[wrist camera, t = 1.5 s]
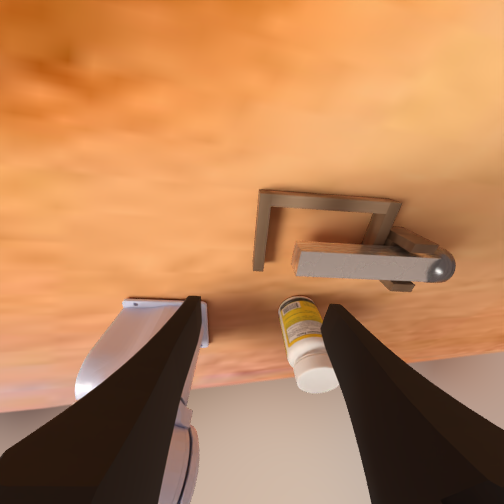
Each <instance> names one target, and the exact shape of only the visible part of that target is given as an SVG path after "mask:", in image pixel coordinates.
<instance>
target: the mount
mask: <svg viewBox="0 0 504 504" xmlns="http://www.w3.org/2000/svg"><path fill="white" fill-rule="evenodd" d="M401 205H402V203H400V202H397V201H394V200H391V199H384V198H370V197H356V196H342V195H328V194H314V193H300V192H286V191H272V190H259V195H258V207H257V218H256V229H255V241H254V252H253V271H263V268H264V260H265V252H266V244H267V235H268V227H269V219H270V211H271V206H272V207H287V208H302V209H317V210H332V211H347V212H362V213H373V215H372V218H371V221H370V223H369V226H368V228H367V231H366V234H365V236H364V239H363V241H362V244H363V245H381V246H399V247H402V248H404V249H406V250H407V251H409V252H410V253H425V254H434V253H435V251H436V250H437V248H438V246H439V245H438V244H436V243H434V242H432V241H430V240H428V239H425V238H423V237H421V236H419V235H417V234H415V233H413V232H411V231H409V230H407V229H405V228H403V227H392V225H393V223H394V221H395V218H396V216H397V214H398V212H399V209H400V207H401ZM379 281H380V282H382V283H383V284H384V285H385V286H386V287H387V288H388V289H389V290H390V291H400V292H411V291H412V289H413V288H414V286H415V284H413V283H412V282H411V281H396V280H379Z"/></svg>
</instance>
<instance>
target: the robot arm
mask: <svg viewBox="0 0 504 504" xmlns="http://www.w3.org/2000/svg"><path fill="white" fill-rule="evenodd" d="M122 304H123V307H124V308H123V309H122V310H121V312H120V313H119V314H118V316H117V317H116V318H115V319H114V321H113V322H112V323H111V325H110V326H109V327H108V329H107V330H106V331H105V332H104V334H103V335H102V336H101V338H100V339H99V340H98V341H97V343H96V344H95V345H94V347H93V348H92V349H91V350H90V352H89V353H88V355H87V356H86V358H85V360H84V362H83V364H82V366H81V368H80V370H79V373H78V376H77V379H76V383H75V397H76V401H75V402H74V403H73V404H72V405H71V406H70V407H69V408H67V409H66V410H65V411H64V412H62V413H60V414H59V415H58V416H56V417H55V418H53V419H52V420H50V421H49V422H47V423H46V424H45V425H43V426H42V427H40V428H39V429H37V430H36V431H34V432H33V433H31V434H30V435H28V436H27V437H25V438H24V439H22V440H21V441H19V442H18V443H16V444H15V445H14V446H12V447H10V448H9V449H7V450H6V451H5V452H4V453H3V454H2V456H1V457H0V504H190V502H191V498H192V496H193V492H194V488H195V484H196V480H197V474H198V467H199V442H198V435H197V431H196V429H195V428H194V426H192V425H190V422H191V417H192V412H193V411H192V410H191V409H189V408H187V407H186V406H187V402H188V397H189V393H190V389H191V385H192V380H193V376H194V372H195V367H196V363H197V359H198V354H199V350H200V347H201V348H205V347H208V345H209V336H208V317H207V304H206V302H203V301H201V296H188V297H187V298H186V300H185V301H178V300H150V299H124V301H123V302H122ZM320 330H321V334H322V338H323V342H324V346H325V349H326V351H327V354H328V357H329V359H330V362H331V364H332V367H333V370H334V372H335V375H336V377H337V380H338V382H339V385H340V388H341V390H342V393H343V396H344V399H345V401H346V405H347V408H348V412H349V415H350V418H351V422H352V425H353V429H354V433H355V437H356V440H357V444H358V447H359V452H360V456H361V460H362V464H363V468H364V472H365V476H366V480H367V485H368V489H369V494H370V499H371V503H372V504H504V430H503V429H501V428H499V427H498V426H496V425H494V424H493V423H491V422H490V421H488V420H487V419H485V418H483V417H482V416H480V415H479V414H477V413H476V412H474V411H472V410H471V409H469V408H468V407H466V406H465V405H463V404H462V403H460V402H459V401H457V400H456V399H454V398H453V397H451V396H450V395H449V394H447V393H446V392H444V391H443V390H441V389H440V388H439V387H437V386H435V385H434V384H433V383H431V382H430V381H429V380H427V379H426V378H425V377H423V376H422V375H421V374H419V373H418V372H417V371H415V370H414V369H413V368H412V367H410V366H409V365H408V364H406V363H405V362H404V361H403V360H401V359H400V358H399V357H398V356H397V355H395V354H394V353H393V352H392V351H391V350H390V349H388V348H387V347H386V346H385V345H384V344H383V343H381V342H380V341H379V340H378V339H377V338H376V337H375V336H374V335H373V334H371V333H370V332H369V331H368V330H367V329H366V328H365V327H364V326H363V325H362V324H361V323H360V322H359V321H358V320H357V319H356V318H354V317H353V316H352V315H351V314H350V313H349V312H348V311H347V310H346V309H345V308H344V307H343V306H342V305H340V304H330V305H329V307H328V310H327V313H326V315H325V318H324V320H323V323H322V325H321V328H320Z"/></svg>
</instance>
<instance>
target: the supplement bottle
mask: <svg viewBox="0 0 504 504" xmlns="http://www.w3.org/2000/svg"><path fill="white" fill-rule="evenodd" d="M278 315H279V320H280V325H281V330H282V335H283V340H284V345H285V350H286V355H287V359H288V362H289V364H290V365H291V366H292V367H293V369H294V374H295V378H296V383H297V385H298V387H299V388H300V389H301V390H303V391H305V392H308V393H324V392H327V391H330V390H333V389H334V388H336V387H337V386H339V382H338V380H337V377H336V375H335V372H334V370H333V367H332V364H331V362H330V359H329V357H328V354H327V351H326V349H325V346H324V342H323V338H322V334H321V330H320V328H321V325H322V323H323V320H322V318H321V315H320V313H319V311H318V309H317V307H316V305H315V303H314V302H313V301H312V300H311V299H310V298H308V297H304V296H294V297H291V298H288V299H286V300H285V301H284V302H283V303H282V304H281V305H280V307H279V310H278Z"/></svg>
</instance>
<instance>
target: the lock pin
mask: <svg viewBox="0 0 504 504" xmlns="http://www.w3.org/2000/svg"><path fill="white" fill-rule="evenodd" d="M291 265H292V267H293V270H294V273H295V275H296V276H307V277H329V278H352V279H374V280H396V281H418V282H430V283H441V282H445V281H447V280H448V279H450V278H451V277H452V275H453V274H454V271H455V266H456V265H455V260H454V258H453V256H452V254H451V253H450V252H448V251H447V250H445V249H443V248H437V250H436V251H435V253H434V254H425V253H410V252H409V251H407V250H406V249H404V248H402V247H399V246H381V245H363V244H345V243H327V242H309V241H295V246H294V251H293V256H292V261H291Z"/></svg>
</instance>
